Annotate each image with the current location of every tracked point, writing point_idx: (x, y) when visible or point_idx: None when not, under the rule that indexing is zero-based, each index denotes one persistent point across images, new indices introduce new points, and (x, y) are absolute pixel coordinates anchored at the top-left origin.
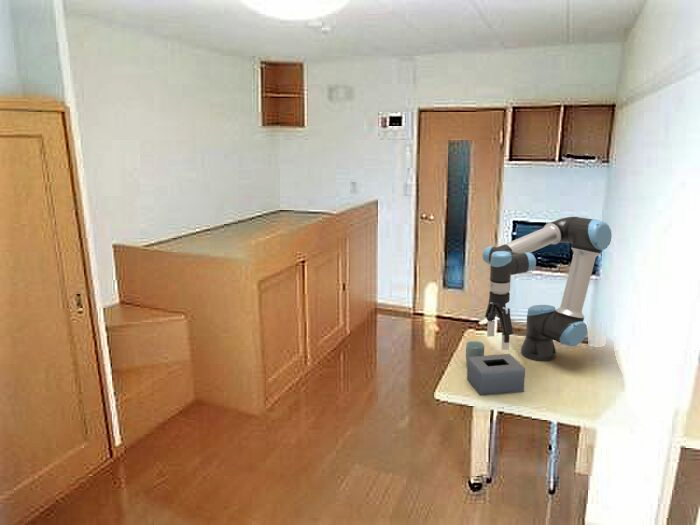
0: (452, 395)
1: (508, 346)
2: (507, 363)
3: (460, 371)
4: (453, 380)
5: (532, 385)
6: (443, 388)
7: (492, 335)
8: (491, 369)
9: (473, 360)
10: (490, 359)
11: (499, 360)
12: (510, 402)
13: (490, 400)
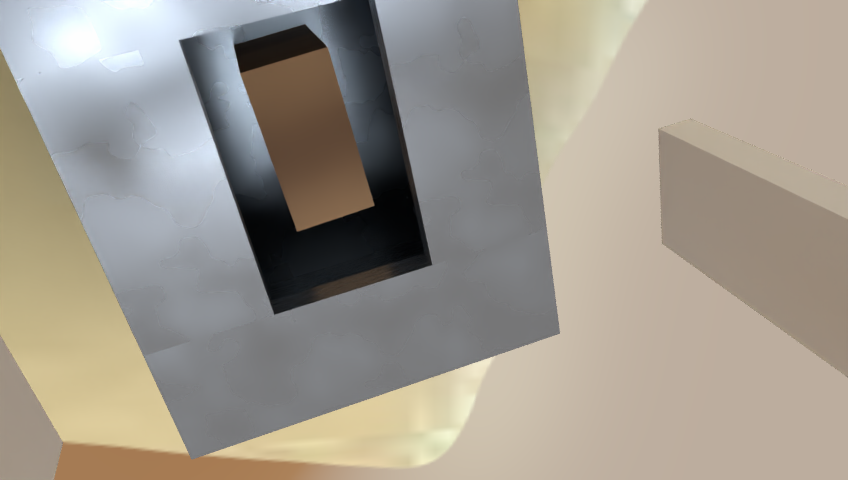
0: (465, 403)
1: (730, 147)
2: (312, 5)
3: (28, 368)
4: None
5: None
6: (368, 460)
7: (10, 372)
8: (506, 233)
9: (282, 403)
10: (226, 220)
11: (200, 95)
12: (578, 10)
13: (540, 162)
